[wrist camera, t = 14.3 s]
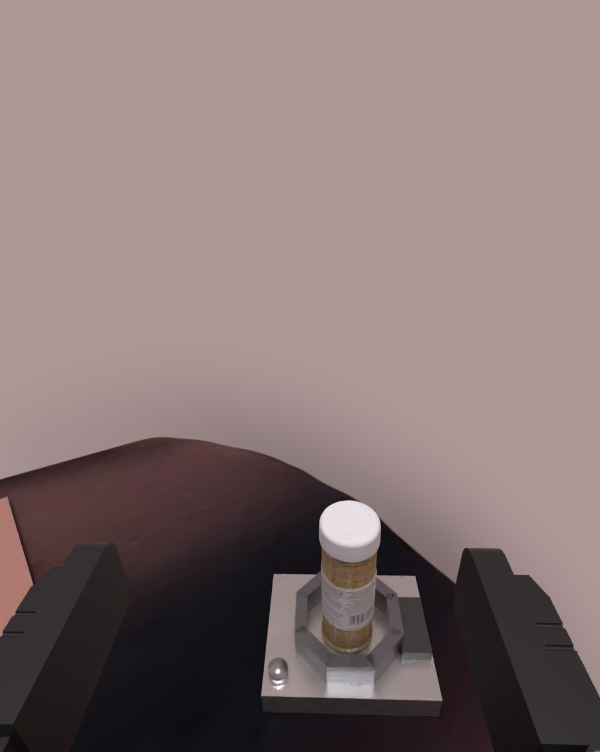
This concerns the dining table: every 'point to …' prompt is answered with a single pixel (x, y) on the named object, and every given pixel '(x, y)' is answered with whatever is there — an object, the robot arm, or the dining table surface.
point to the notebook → (11, 566)
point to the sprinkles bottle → (348, 574)
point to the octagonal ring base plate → (349, 671)
